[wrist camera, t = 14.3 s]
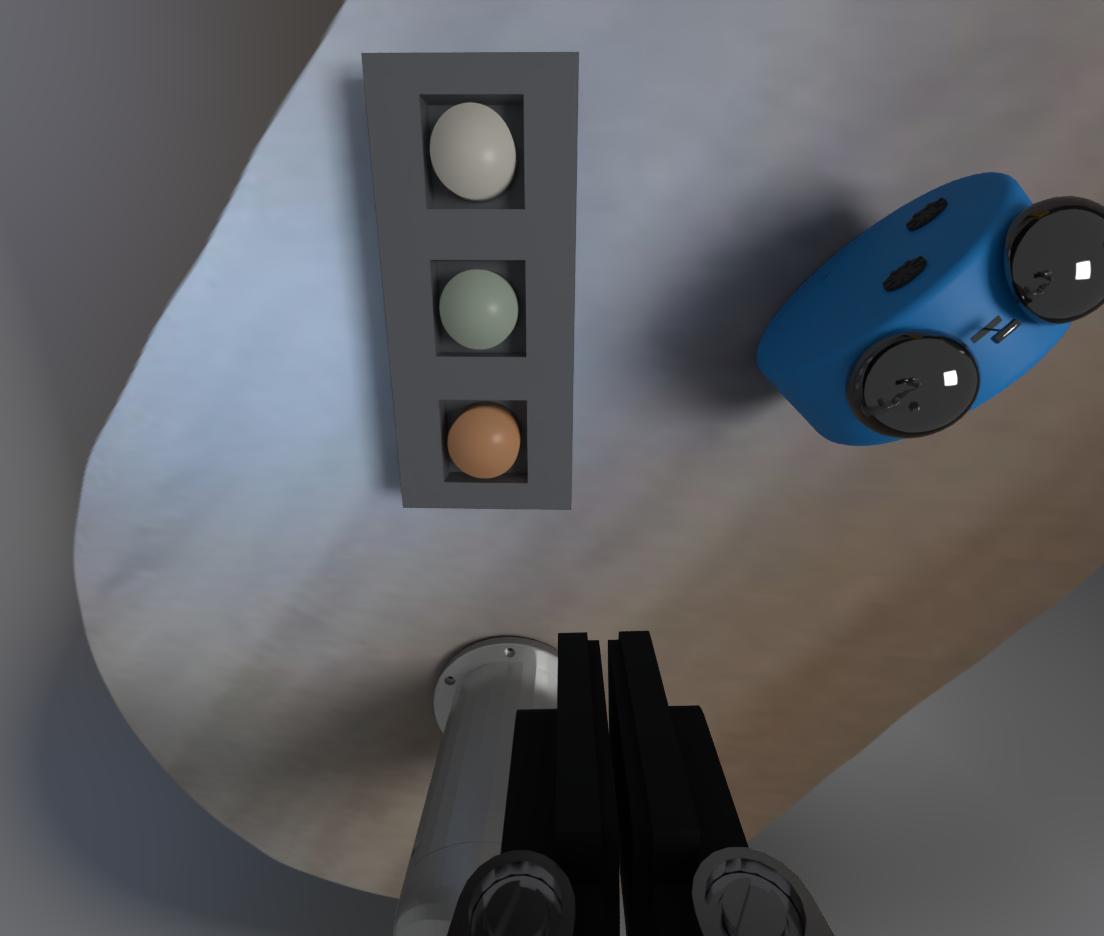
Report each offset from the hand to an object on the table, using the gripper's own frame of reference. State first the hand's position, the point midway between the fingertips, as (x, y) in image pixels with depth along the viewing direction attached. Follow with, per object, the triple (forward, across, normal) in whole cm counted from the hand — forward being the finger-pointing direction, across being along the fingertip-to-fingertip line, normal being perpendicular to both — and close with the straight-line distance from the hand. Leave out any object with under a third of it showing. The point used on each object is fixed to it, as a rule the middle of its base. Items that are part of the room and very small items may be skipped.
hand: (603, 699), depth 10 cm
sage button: (+27, +5, -7) cm, 28 cm away
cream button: (+27, +5, -15) cm, 31 cm away
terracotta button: (+27, +6, +1) cm, 28 cm away
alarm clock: (+28, -17, -6) cm, 34 cm away
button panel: (+28, +5, -7) cm, 30 cm away
